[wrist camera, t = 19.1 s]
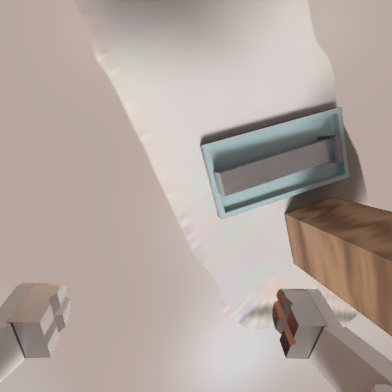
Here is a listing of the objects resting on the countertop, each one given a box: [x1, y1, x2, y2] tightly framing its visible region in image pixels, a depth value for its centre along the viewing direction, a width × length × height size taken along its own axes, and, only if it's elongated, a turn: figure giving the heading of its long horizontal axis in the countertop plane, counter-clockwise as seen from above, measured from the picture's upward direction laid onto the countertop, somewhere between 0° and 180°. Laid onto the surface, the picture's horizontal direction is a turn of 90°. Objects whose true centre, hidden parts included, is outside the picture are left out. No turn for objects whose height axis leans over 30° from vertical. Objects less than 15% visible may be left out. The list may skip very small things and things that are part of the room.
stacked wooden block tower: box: [285, 198, 392, 336], centre depth 32 cm, size 10×10×28 cm
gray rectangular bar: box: [213, 134, 343, 196], centre depth 38 cm, size 20×4×4 cm, turn 105°
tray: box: [200, 107, 350, 219], centre depth 41 cm, size 24×12×2 cm, turn 105°
